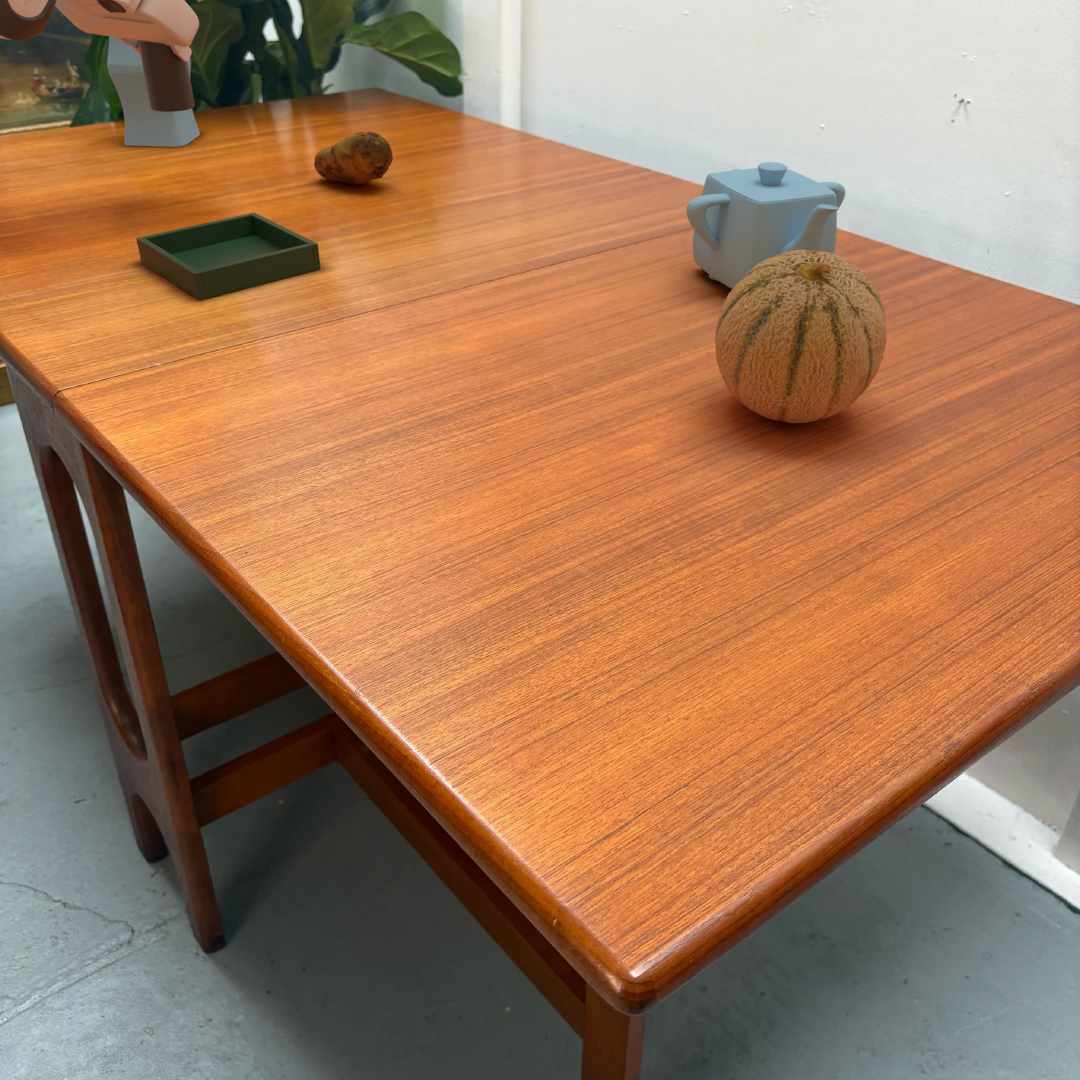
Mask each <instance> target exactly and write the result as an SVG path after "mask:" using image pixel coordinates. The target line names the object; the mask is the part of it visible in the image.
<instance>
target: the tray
mask: <svg viewBox="0 0 1080 1080" xmlns="http://www.w3.org/2000/svg"><path fill="white" fill-rule="evenodd" d="M135 239H136V244H137V248H138V253H139V258H140V262H141V264H143V265H144V266H146V267H147V268H148V269H150V270H152V271H153V272H155V273H156V274H158V275H159V276H161V277H162V278H164V279H166V280H167V281H169V282H171V284H173V285H174V286H176V287H178V288H179V289H181V290H182V291H184V292H186V293H187V294H188V295H190V296H192V297H194V298H195V299H197V300H198V301H202V300H206V299H210V298H215V297H218V296H221V295H222V296H223V295H225V294H229V293H233V292H237V291H240V290H245V289H248V288H253V287H256V286H261V285H264V284H268V283H272V282H276V281H279V280H283V279H287V278H290V277H291V278H292V277H294V276H298V275H302V274H307V273H310V272H314V271H318V270H321V269H322V268H321V259H320V252H319V244H318V243H317V242H315V241H313V240H311V239H309V238H307V237H305V236H303V235H301V234H299V233H297V232H294V231H293V230H291V229H288V228H287V227H286V226H285V227H284V226H283V225H280V224H279V223H276V222H274V221H273V220H270V219H268V218H266V217H264V216H262V215H261V214H259V213H256V212H249V213H246V214H240V215H237V216H236V215H235V216H232V217H227V218H223V219H217V220H212V221H208V222H204V223H203V222H202V223H199V224H196V225H195V224H194V225H191V226H190V225H189V226H185V227H180V228H176V229H171V230H167V231H163V232H157V233H152V234H149V235H144V236H139V237H136V238H135Z"/></svg>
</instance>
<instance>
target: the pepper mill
mask: <svg viewBox="0 0 1080 1080" xmlns="http://www.w3.org/2000/svg"><path fill="white" fill-rule="evenodd" d="M138 44H139V50H140V55H141V60H142V65H143V70H144V75H145V81H146V86H147V91H148V96H149V101H150V106H151V109H152V110H155V111H161V112H176V111H184V110H189V109H192V110H193V108H195V106H196V104H195V99H194V92H193V87H192V86H193V85H192V80H191V73H190V74H189V68H188V63H187V62H186V61H180V60H177V59H176V57H174V56H173V55H172V54H171V53H170V52H171V50H172V49H171V47H170V46H167V45H166V44H163V43H155V42H148V41H141V40H138Z"/></svg>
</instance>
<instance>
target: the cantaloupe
mask: <svg viewBox="0 0 1080 1080" xmlns="http://www.w3.org/2000/svg"><path fill="white" fill-rule="evenodd" d="M881 298H882V295H881V294H880V293H879V291H878V290H877V288H876V286H875V284H874V283H873V282H872V280H871V279H870V278H869V277H868V276H867V275H866V273H864V271H862V270H861V269H860V268H859V267H857V266H855V265H854V264H853V263H852V262H851V261H850V260H849V259H848V258H847V259H846V258H845V257H842V256H841V255H838V254H832V253H829V252H820V251H810V250H793V251H788V252H784V253H781V254H779V255H776V256H774V257H771V258H768V259H766V260H765V261H762V262H760V263H758V264H757V265H755V266H754V267H753V268H752V269H751V270H750V271H748V272H747V273H746V275H745V276H744V277H743V278H742V279H741V280H740V281H739V282H738V284H737V285H736V286H735V287H734V288H733V289H731V291H729V293H728V294H727V297H726V298H725V299H724V301H723V303H722V306H721V309H720V311H719V314H718V318H717V322H716V327H715V329H716V330H715V338H714V344H715V346H714V347H715V348H714V349H715V358H716V364H717V367H718V371H719V373H720V375H721V378H722V380H723V382H724V385H725V386H726V387H727V389H728V391H729V392H730V394H731V395H733V397H735V399H736V400H737V401H739V402H740V403H741V404H743V405H744V407H746V408H748V409H749V410H751V411H752V412H754V413H755V414H758V415H759V416H762V417H764V418H766V419H768V420H773V421H776V422H777V421H778V422H785V423H788V424H807V423H811V422H815V421H819V420H824V419H826V418H830V417H833V416H835V415H837V414H839V413H840V412H843V411H844V410H845V409H847V408H849V407H850V406H851V405H852V404H853V403H855V402H856V401H857V399H859V397H861V396H862V395H863V394H864V392H865V391H867V389H868V388H869V387H870V385H871V383H872V382H873V380H874V379H875V377H876V376H877V374H878V371H879V369H880V367H881V364H882V362H883V360H884V358H885V357H884V353H885V350H886V345H887V334H888V333H887V327H886V326H887V325H886V313H885V311H886V310H885V309H884V308H885V306H884V304H883V301H882V299H881Z"/></svg>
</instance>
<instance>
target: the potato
mask: <svg viewBox="0 0 1080 1080" xmlns="http://www.w3.org/2000/svg"><path fill="white" fill-rule="evenodd" d="M393 159H394V158H393V150H392V148H391V145H390V144H389V142H388V140H387V139H386V138H384V137H383V136H382V135H380V134H378V133H376V132H374V131H368V132H366V131H361V132H355V133H351V134H349V135H347V136H345V137H344V138H343V139H341V140H340V141H338V142H337V143H335V144H332V145H330V146H327V147H325V148H322V149H321V150H319V151H318V152H317V153H316V155H315V156H314V163H313V164H314V165H313V166H314V168H315V170H316V171H317V174H319V176H321V178H323V179H325V180H327V181H332V182H333V181H334V182H340V183H342V184H343V183H344V184H348V185H365V184H368V183H370V182H372V181H375V180H378V179H382V178H383V177H384V175H385V174H386V173H387V171H389V168H390V166H391V164H392V163H393V161H394V160H393Z"/></svg>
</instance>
